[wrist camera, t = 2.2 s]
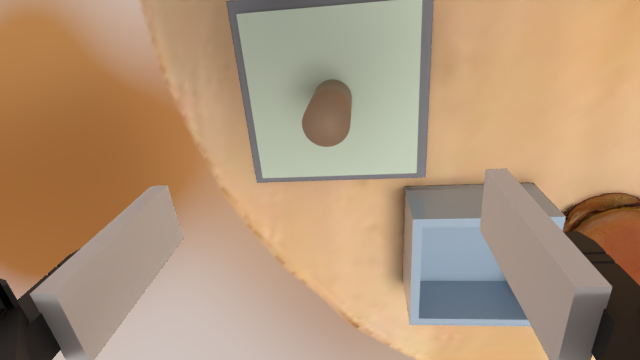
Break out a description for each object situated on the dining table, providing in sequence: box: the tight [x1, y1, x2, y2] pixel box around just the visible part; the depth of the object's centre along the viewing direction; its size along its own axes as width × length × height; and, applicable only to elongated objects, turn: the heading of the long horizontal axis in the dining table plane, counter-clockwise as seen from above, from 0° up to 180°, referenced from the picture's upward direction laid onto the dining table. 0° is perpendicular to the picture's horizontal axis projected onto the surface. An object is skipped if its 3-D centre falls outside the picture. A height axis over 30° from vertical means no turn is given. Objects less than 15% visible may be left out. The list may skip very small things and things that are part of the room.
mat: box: [226, 0, 433, 183], centre depth 32 cm, size 16×16×1 cm
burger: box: [563, 193, 640, 286], centre depth 34 cm, size 10×9×5 cm
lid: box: [236, 0, 422, 178], centre depth 28 cm, size 14×14×8 cm
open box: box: [403, 183, 566, 326], centre depth 35 cm, size 12×12×6 cm
